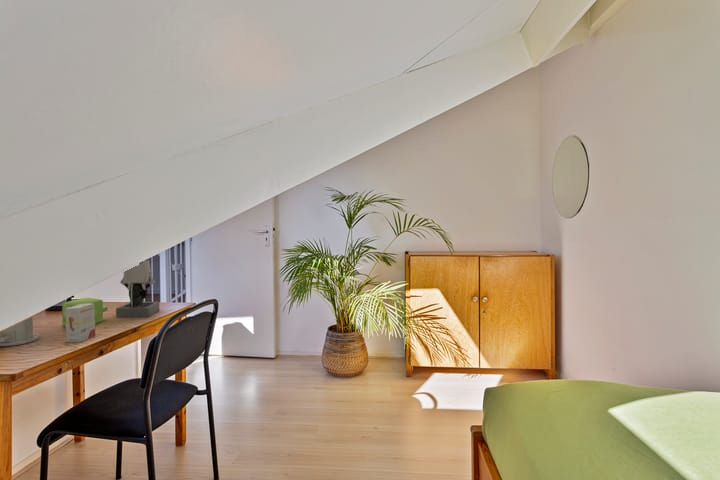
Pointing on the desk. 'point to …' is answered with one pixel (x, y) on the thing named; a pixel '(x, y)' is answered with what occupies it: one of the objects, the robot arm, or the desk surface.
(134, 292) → the battery
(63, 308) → the lime green rounded box
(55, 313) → the desk surface
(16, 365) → the desk surface
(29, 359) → the desk surface
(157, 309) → the tray
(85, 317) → the ink box
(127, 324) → the desk surface
